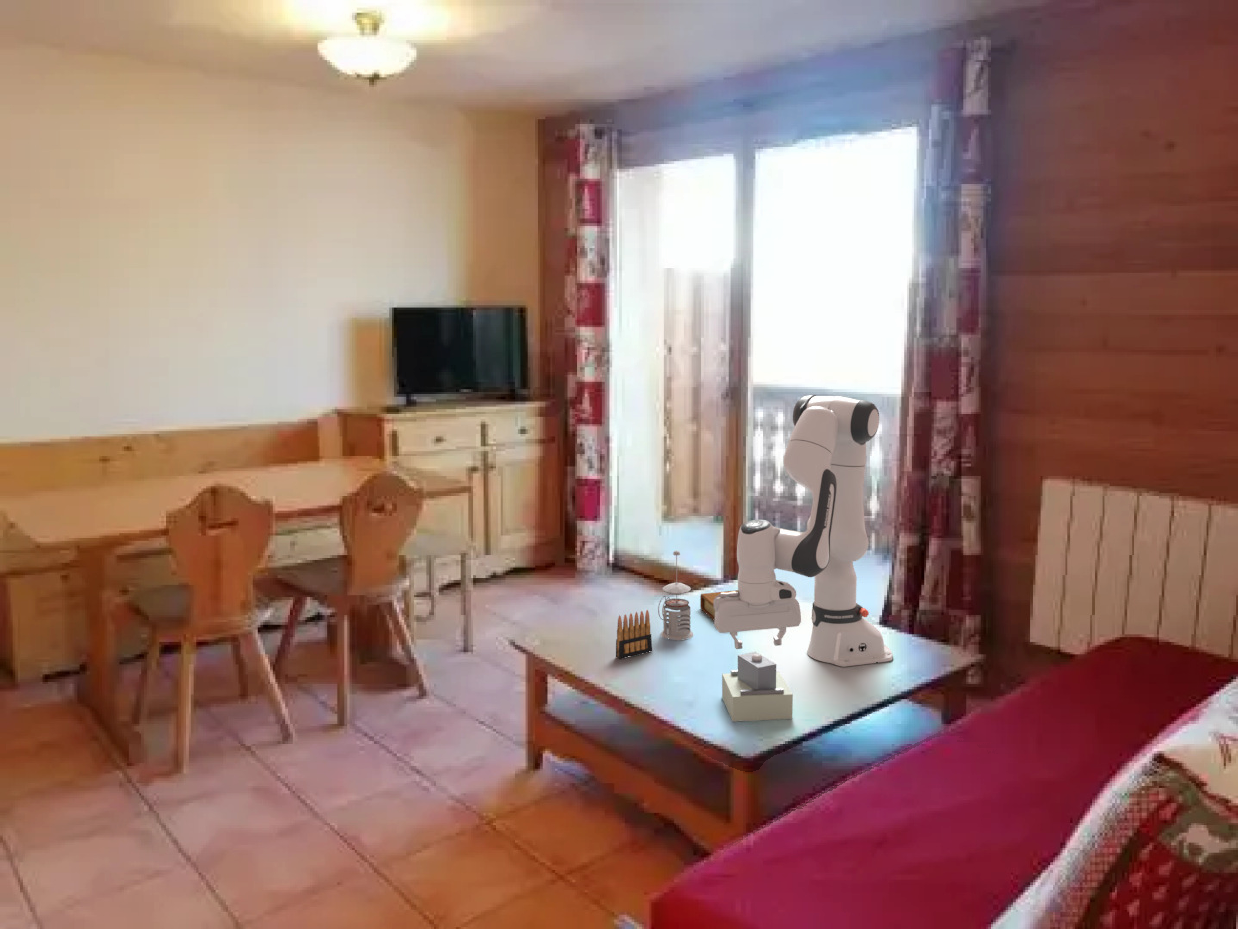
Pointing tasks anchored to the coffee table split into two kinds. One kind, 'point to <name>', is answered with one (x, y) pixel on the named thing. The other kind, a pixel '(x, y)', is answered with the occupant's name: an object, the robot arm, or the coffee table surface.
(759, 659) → the block
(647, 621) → the ammunition clip
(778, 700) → the stand
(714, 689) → the coffee table surface
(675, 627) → the french press
